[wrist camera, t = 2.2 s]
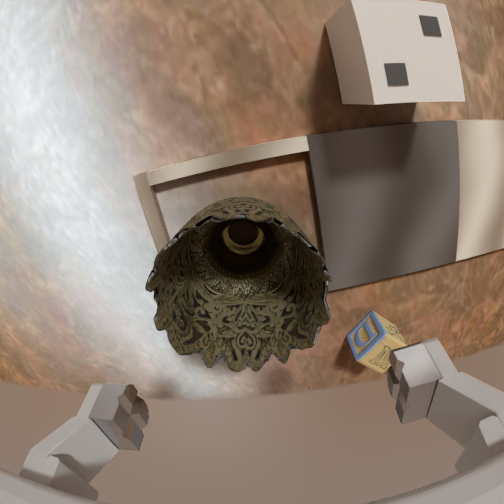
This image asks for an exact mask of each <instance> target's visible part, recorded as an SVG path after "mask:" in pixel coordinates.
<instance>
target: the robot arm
mask: <svg viewBox="0 0 504 504" xmlns="http://www.w3.org/2000/svg"><path fill="white" fill-rule="evenodd" d="M389 361H390V364H391V366H390V367H389V368H388V372H387V380H388V387H389V391H390V394H391V397H392V398H394V399H395V400H397V402H396V411H397V414H398V417H399V419H400V422H401V424H405V423H408V422H412V421H416V420H419V419H422V418H426V417H427V419H428V420H429V421H430V422H432V423H433V424H434V425H436V426H437V427H438V428H439V429H441V430H442V431H443V432H444V433H446V434H447V435H448V436H450V437H451V438H452V439H454V440H455V441H456V442H458V443H459V444H460V445H461V446H463V447H464V448H465V449H464V450H463V452H462V453H461V455H460V457H459V458H458V460H457V461H456V463H455V467H456V470H457V474H455V475H453V476H450V477H448V478H445V479H443V480H440V481H437V482H435V483H432V484H429V485H426V486H423V487H421V488H417V489H415V490H411V491H408V492H405V493H402V494H398V495H395V496H392V497H388V498H384V499H380V500H376V501H372V502H368V503H364V504H504V393H503V392H502V391H500V390H497V389H495V388H493V387H492V386H489V385H488V384H486V383H484V382H482V381H480V380H478V379H476V378H474V377H472V376H470V375H468V374H466V373H464V372H460V373H458V372H457V370H456V368H455V366H454V365H453V363H452V361H451V360H450V358H449V356H448V355H447V353H446V351H445V350H444V348H443V347H442V345H441V343H440V342H439V340H438V339H437V338H432V339H429V340H425V341H422V342H418V343H415V344H411V345H408V346H404V347H400V348H397V349H393V350H391V351H390V353H389ZM137 392H138V391H137V390H136V388H135V387H134V385H131V384H101V383H95V384H93V385H92V386H91V388H90V390H89V392H88V394H87V396H86V398H85V400H84V402H83V404H82V406H81V408H80V410H79V412H78V414H77V416H76V417H72V418H71V419H69V420H68V421H67V422H66V423H64V424H63V425H62V426H60V427H59V428H58V429H57V430H55V431H54V432H53V433H52V434H50V435H49V436H47V437H46V438H45V439H44V440H42V441H41V442H40V443H38V444H37V445H36V446H34V447H33V448H32V449H31V450H30V452H29V455H28V457H27V459H26V461H25V463H24V465H23V467H22V469H21V472H20V474H19V475H17V474H15V473H13V472H10V471H8V470H6V469H3V468H1V467H0V504H107V503H103V502H99V501H97V498H98V494H99V493H98V491H97V490H96V489H95V488H93V487H92V486H91V485H90V484H88V483H89V482H90V481H91V480H92V479H93V478H94V477H95V476H96V475H97V474H98V473H99V472H100V470H101V469H102V468H103V467H104V466H105V465H106V464H107V463H108V462H109V461H110V459H111V458H112V457H113V456H114V455H115V454H116V453H117V452H118V451H119V450H118V449H125V450H139V449H140V446H141V443H142V439H143V436H144V435H143V433H142V429H143V428H144V427H145V426H146V425H147V422H148V419H149V416H148V408H147V405H146V403H145V402H144V400H143V399H141V398H140V397H138V396H137Z"/></svg>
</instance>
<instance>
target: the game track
mask: <svg viewBox="0 0 504 504" xmlns="http://www.w3.org/2000/svg"><path fill="white" fill-rule="evenodd" d="M304 151H308V156H309V162H310V168H311V174H312V180H313V186H314V193H315V199H316V206H317V213H318V220H319V227H320V235H321V242H322V250H323V258H324V260H325V266H326V268H327V270H328V271H329V274H330V276H331V279H332V283H331V282H330V281H328V280H327V285H328V291H332V290H336V289H341V288H346V287H351V286H355V285H360V284H364V283H369V282H373V281H378V280H382V279H387V278H391V277H395V276H399V275H404V274H408V273H412V272H416V271H420V270H424V269H428V268H432V267H436V266H440V265H444V264H448V263H452V262H455V261H459V260H463V259H467V258H470V257H474V256H478V255H481V254H485V253H488V252H492V251H495V250H499V249H502V248H504V120H450V121H430V122H414V123H402V124H390V125H380V126H371V127H362V128H354V129H346V130H339V131H331V132H325V133H318V134H312V135H305V136H299V137H294V138H288V139H282V140H277V141H272V142H266V143H261V144H256V145H251V146H247V147H242V148H237V149H233V150H228V151H224V152H219V153H215V154H211V155H207V156H203V157H199V158H195V159H191V160H187V161H183V162H179V163H175V164H172V165H168V166H164V167H161V168H157V169H154V170H150V171H147V172H143V173H140V174H137V175H135V176H134V180H135V183H136V187H137V190H138V193H139V196H140V199H141V203H142V206H143V209H144V212H145V215H146V218H147V221H148V224H149V227H150V230H151V233H152V236H153V238H154V241H155V244H156V247H157V250H158V253H159V252H160V251H161V250H162V248H163V247H164V246H165V245H166V244H167V243H168V242H170V238H169V235H168V232H167V229H166V225H165V222H164V219H163V216H162V213H161V210H160V207H159V203H158V200H157V197H156V194H155V190H154V187H153V185H155V184H159V183H163V182H166V181H170V180H174V179H178V178H182V177H186V176H190V175H194V174H198V173H202V172H206V171H210V170H215V169H219V168H223V167H228V166H232V165H237V164H242V163H246V162H251V161H256V160H261V159H266V158H271V157H276V156H282V155H287V154H292V153H298V152H304Z"/></svg>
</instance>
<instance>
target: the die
mask: <svg viewBox="0 0 504 504" xmlns="http://www.w3.org/2000/svg"><path fill="white" fill-rule="evenodd" d="M325 26H326V30H327V34H328V38H329V42H330V46H331V50H332V55H333V59H334V64H335V68H336V73H337V78H338V83H339V88H340V93H341V98H342V104H365V105H378V104H392V103H408V102H436V101H465V96H464V89H463V82H462V76H461V70H460V64H459V59H458V54H457V49H456V44H455V40H454V35H453V31H452V27H451V23H450V20H449V16H448V12H447V9H446V5H445V4H440V3H433V2H425V1H417V0H347V1H346V2H345V3H344V4H343V5H342V6H341V7H340V8H339V9H338V10H337V11H336V12H335V13H334V14H333V15H332V16H331V17H330V18H329V19H328V20H327V21H326V22H325Z"/></svg>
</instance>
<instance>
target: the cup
mask: <svg viewBox="0 0 504 504" xmlns="http://www.w3.org/2000/svg"><path fill="white" fill-rule="evenodd" d="M236 222H249V223H252V224H254V225H255V226H256V229H257V235H256V238H255V239H254V240H253V241H252V242H251V243H249V244H238V243H236V242H235V241H234V240H233V239H232V238H231V236H230V228H231V226H232V224H233V223H236ZM327 280H328V281H330V282H331V283H332V279H331V276H330V274H329V271H328V270H327V268H326V266H325V260H324V259H323V257H322V256H321V254H320V253H319V252H318V250H317V249H316V248H315V247H314V246H313V245H312V244H311V242H310V241H309V239H308V238H307V237H306V235H305V234H304V233H303V231H302V230H301V229H300V227H299V226H298V225H297V224H296V223H295V222H294V221H293V220H292V219H291V218H290V217H289V216H288V215H287V214H286V213H285V212H283V211H282V210H281V209H279V208H278V207H276V206H274V205H272V204H270V203H268V202H265V201H263V200H259V199H256V198H249V197H234V198H228V199H224V200H221V201H218V202H215V203H213V204H211V205H209V206H207V207H206V208H204V209H203V210H201V211H200V212H198V213H197V214H196V215H195V216H194V217H193V218H191V219H190V220H189V221H188V222H187V223H186V224H185V225H184V226H183V227H182V228H181V230H180V231H179V232H178V233H177V234H176V235H175V236H174V237H173V238H172V240H171V241H170V242H168V243H167V244H166V245H165V246H164V247H163V248H162V250H161V251H160V252H159V253H158V255H157V256H156V258H155V261H154V267H153V270H152V271H151V273H150V275H149V277H148V280H147V282H146V290H147V291H149V292H152V291H154V300H155V301H156V303H157V306H158V308H157V312H156V315H155V317H154V323H155V326H156V329H157V330H158V331H162V330H166V332H167V336H168V340H169V342H170V344H171V345H172V347H173V348H174V349H175V350H176V352H177V353H178V354H179V355H190V354H191V355H192V354H193V353H198V354H201V353H202V358H201V359H202V360H203V362H204V364H205V365H206V366H207V368H212V367H213V366H215V365H216V363H218V360H219V359H220V358H221V357H223V358H224V361H225V363H226V365H227V366H228V368H229V369H230V370H232V371H234V372H240V371H241V370H244V369H245V368H246V367H247V366H248V367H251V368H252V370H253V371H255V372H257V371H259V370H260V369H261V368H262V366H263V365H264V364H265V362H266V361H269V359H270V356H271V354H274V356H276V358H277V359H278V360H279V361H281V362H282V363H284V364H285V363H286V362H287V360H288V358H289V355H290V350H291V349H300V350H302V349H306V348H312V347H313V346H314V345H315V343H316V341H317V338H318V335H319V332H320V330H321V327H322V325H324V324H325V325H326V324H327V323H328V322H329V320H330V309H329V308H328V305H327V302H326V293H327V292H328V285H327ZM220 355H222V356H220ZM219 356H220V357H219ZM217 359H218V360H217Z"/></svg>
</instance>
